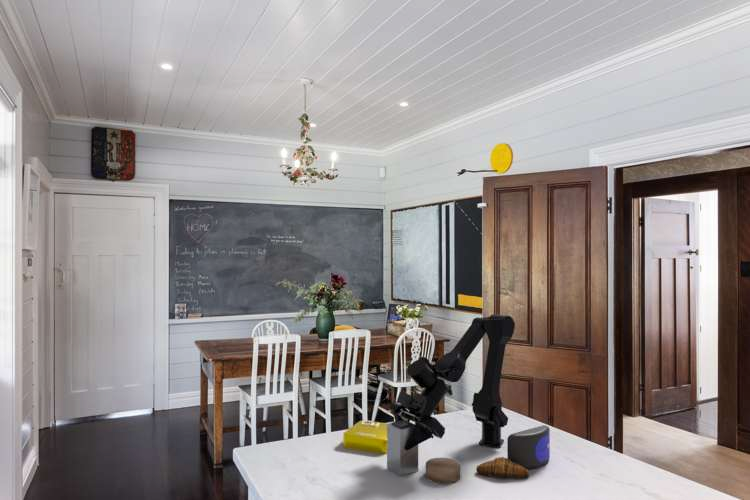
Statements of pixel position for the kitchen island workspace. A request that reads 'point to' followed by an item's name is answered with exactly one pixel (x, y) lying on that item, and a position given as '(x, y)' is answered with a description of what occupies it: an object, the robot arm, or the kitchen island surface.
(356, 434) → the element tile
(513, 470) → the croissant
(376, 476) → the kitchen island surface
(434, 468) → the walnut stand
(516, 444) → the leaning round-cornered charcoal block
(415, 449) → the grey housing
